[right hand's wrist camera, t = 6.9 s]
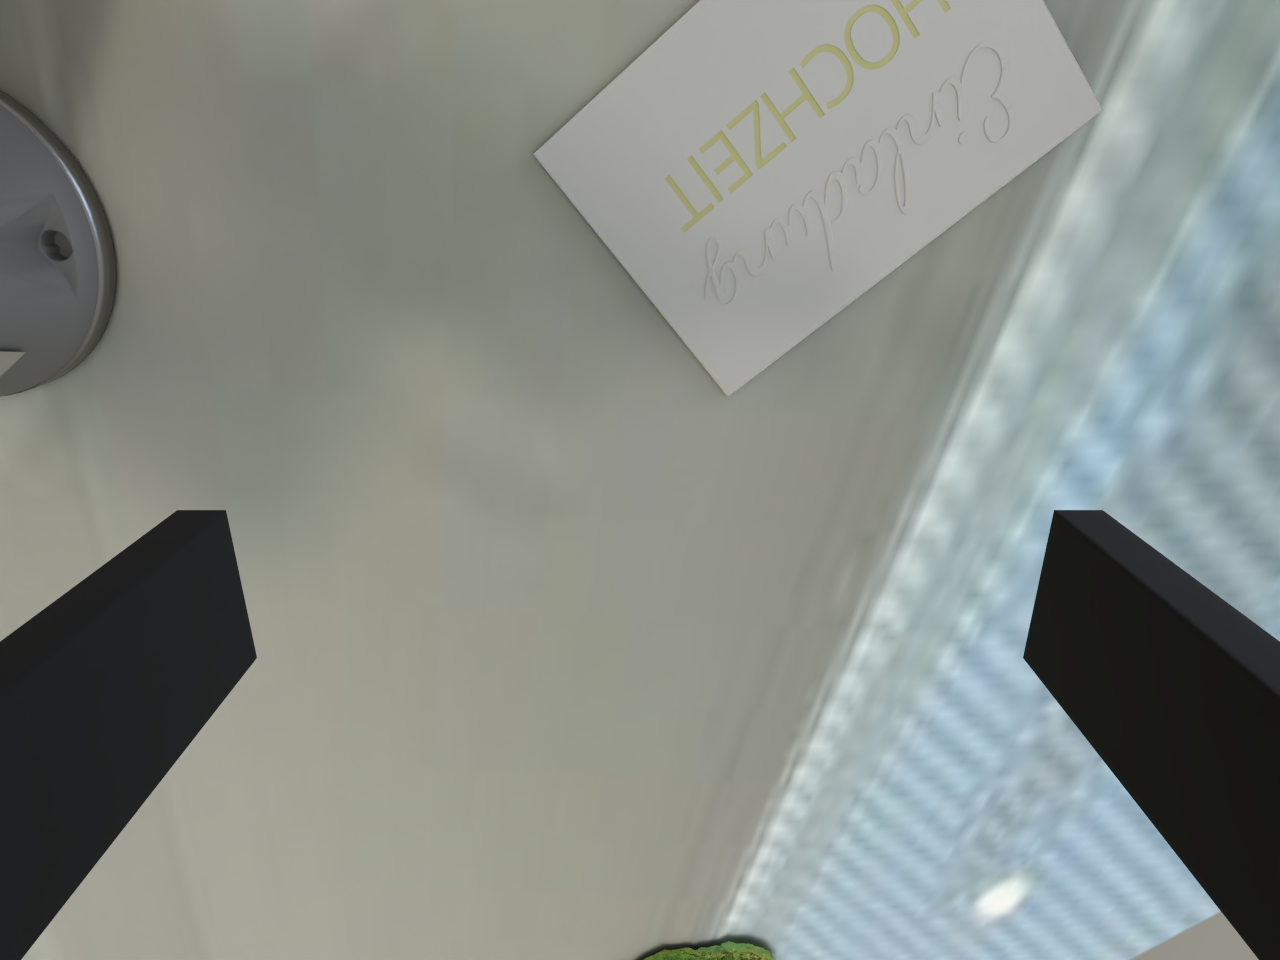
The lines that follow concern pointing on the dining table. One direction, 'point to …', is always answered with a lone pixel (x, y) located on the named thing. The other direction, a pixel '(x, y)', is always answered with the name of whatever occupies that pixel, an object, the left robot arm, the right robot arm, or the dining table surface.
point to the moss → (716, 953)
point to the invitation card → (808, 154)
